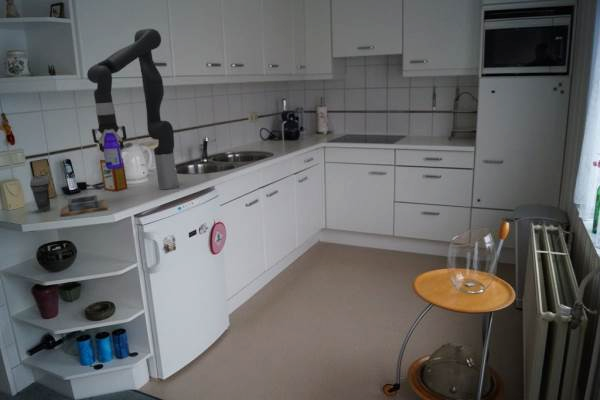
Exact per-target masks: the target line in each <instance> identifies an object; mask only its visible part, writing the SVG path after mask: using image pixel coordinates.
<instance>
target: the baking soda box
mask: <svg viewBox="0 0 600 400" xmlns="http://www.w3.org/2000/svg"><path fill="white" fill-rule="evenodd" d="M122 160H123V166H122V168H119V169H107V167H106V163H105V158H103V159H99V162H100V164H99V165H100V169H101V176H102V181H103V187H104V188H103V189H104V191H109V192H120V191H123V190H128V184H127V177H126V169H125V163H124V158H123V157H122Z"/></svg>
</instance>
